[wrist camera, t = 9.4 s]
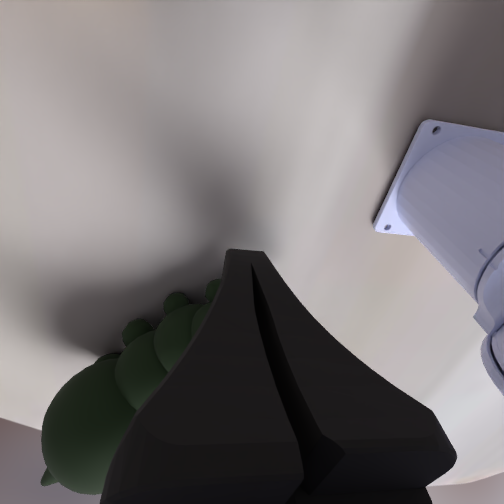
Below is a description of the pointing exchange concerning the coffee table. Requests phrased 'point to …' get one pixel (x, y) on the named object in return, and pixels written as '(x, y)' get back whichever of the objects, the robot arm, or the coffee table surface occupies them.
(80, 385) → the toy figurine
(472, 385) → the coffee table surface
